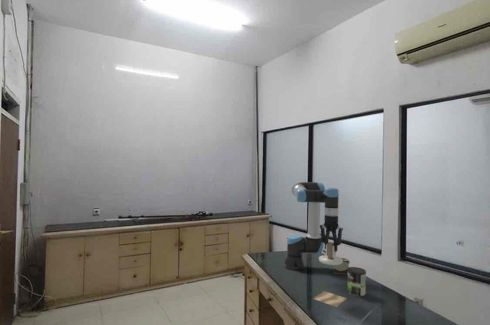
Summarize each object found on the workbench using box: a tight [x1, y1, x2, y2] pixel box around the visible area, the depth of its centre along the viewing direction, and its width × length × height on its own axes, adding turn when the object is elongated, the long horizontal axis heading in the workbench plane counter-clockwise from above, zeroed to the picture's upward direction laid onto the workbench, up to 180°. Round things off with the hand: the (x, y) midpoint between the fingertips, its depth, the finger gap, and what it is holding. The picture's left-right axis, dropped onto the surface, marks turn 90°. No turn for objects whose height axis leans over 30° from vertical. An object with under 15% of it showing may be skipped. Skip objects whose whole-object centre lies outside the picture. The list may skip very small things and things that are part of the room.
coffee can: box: [347, 266, 367, 297], centre depth 169 cm, size 10×10×14 cm
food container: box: [332, 257, 351, 275], centre depth 204 cm, size 12×6×10 cm, turn 84°
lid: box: [318, 241, 343, 266], centre depth 161 cm, size 13×13×10 cm
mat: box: [312, 290, 348, 308], centre depth 160 cm, size 14×14×1 cm
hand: (330, 256), depth 161 cm, fingers closed on lid, 3 cm apart
